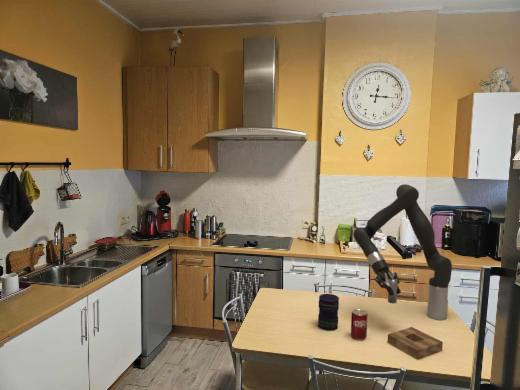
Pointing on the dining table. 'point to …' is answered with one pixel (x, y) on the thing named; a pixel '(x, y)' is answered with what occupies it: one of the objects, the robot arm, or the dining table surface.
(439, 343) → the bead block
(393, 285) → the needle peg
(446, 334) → the dining table surface
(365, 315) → the soda can
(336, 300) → the storage jar
